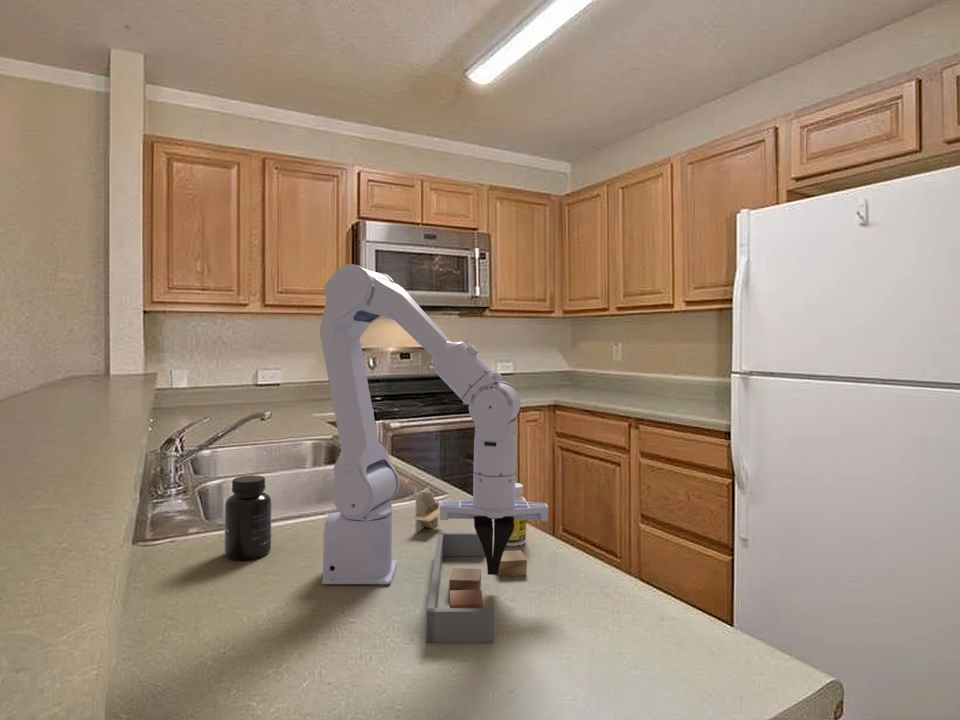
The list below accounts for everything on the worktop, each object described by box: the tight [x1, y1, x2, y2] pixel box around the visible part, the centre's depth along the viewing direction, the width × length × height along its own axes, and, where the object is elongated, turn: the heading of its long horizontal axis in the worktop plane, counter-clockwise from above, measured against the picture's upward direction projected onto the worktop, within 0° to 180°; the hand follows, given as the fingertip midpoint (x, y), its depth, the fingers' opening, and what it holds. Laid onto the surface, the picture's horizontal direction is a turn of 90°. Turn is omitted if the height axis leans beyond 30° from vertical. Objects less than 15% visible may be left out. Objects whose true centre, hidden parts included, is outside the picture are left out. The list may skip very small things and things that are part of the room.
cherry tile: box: [448, 589, 484, 608], centre depth 69 cm, size 4×4×2 cm
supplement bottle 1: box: [224, 474, 272, 562], centre depth 88 cm, size 7×7×12 cm
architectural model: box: [413, 486, 440, 534], centre depth 101 cm, size 3×7×7 cm, turn 161°
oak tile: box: [498, 549, 528, 578], centre depth 83 cm, size 4×4×2 cm
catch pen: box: [426, 532, 495, 644], centre depth 76 cm, size 8×27×4 cm, turn 2°
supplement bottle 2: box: [506, 482, 527, 547], centre depth 96 cm, size 5×5×10 cm
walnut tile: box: [448, 567, 482, 598], centre depth 76 cm, size 4×4×2 cm
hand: (492, 571), depth 76 cm, fingers closed
